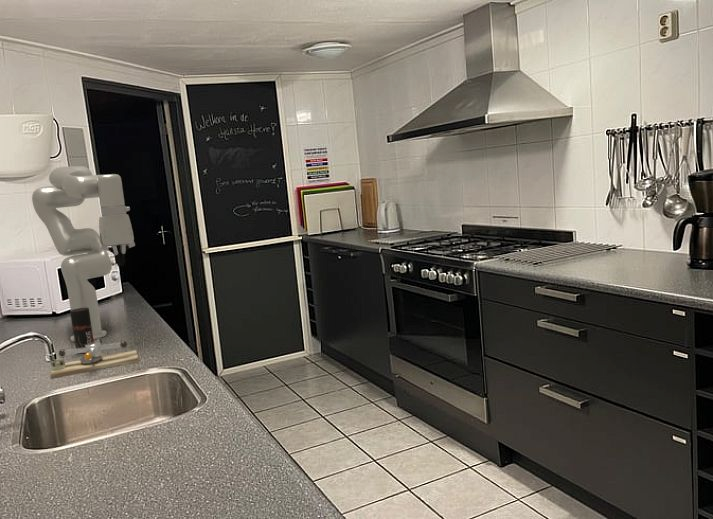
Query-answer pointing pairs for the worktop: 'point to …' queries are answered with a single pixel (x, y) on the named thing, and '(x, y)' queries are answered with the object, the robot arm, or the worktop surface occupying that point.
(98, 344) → the capstan
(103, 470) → the worktop surface
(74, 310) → the deodorant
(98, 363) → the board
